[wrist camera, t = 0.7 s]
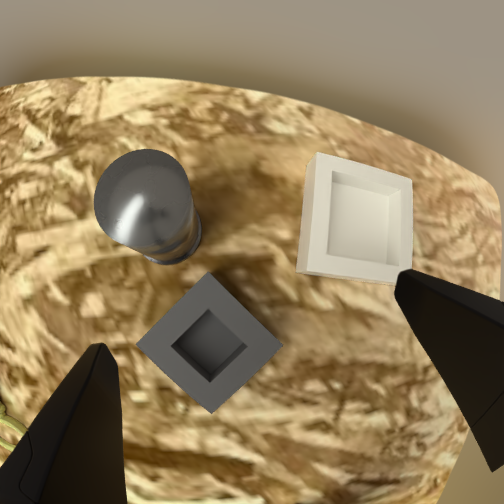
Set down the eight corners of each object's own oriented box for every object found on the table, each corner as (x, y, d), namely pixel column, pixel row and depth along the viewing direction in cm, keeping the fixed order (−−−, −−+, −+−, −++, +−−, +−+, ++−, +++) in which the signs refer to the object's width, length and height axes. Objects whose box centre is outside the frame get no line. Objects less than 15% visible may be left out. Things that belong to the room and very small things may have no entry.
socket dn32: (211, 399, 20) (211, 413, 18) (145, 337, 20) (135, 344, 18) (275, 338, 22) (283, 345, 19) (208, 273, 22) (208, 271, 19)
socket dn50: (391, 285, 23) (410, 284, 21) (295, 272, 22) (306, 270, 20) (395, 188, 25) (411, 179, 22) (306, 165, 24) (316, 151, 21)
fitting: (166, 279, 21) (135, 274, 12) (123, 230, 21) (72, 197, 12) (216, 231, 22) (217, 194, 13) (170, 185, 22) (148, 127, 13)
